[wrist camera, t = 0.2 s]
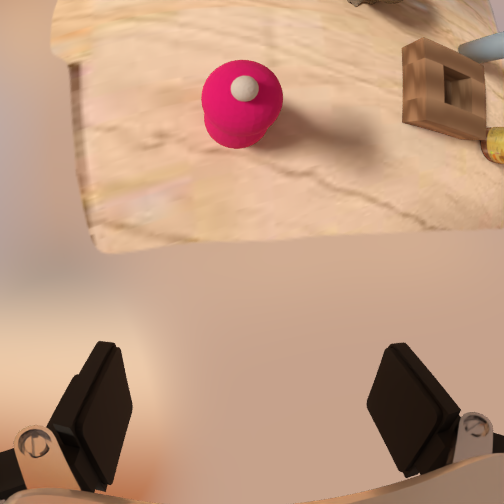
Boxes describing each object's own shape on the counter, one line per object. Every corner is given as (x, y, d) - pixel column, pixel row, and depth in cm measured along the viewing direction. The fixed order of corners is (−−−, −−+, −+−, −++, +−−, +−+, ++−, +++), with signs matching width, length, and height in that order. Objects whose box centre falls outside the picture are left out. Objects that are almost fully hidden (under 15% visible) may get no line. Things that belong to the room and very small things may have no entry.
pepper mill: (209, 91, 35) (193, 32, 16) (267, 96, 35) (307, 43, 16) (204, 147, 37) (180, 138, 18) (262, 151, 37) (298, 148, 18)
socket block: (401, 48, 34) (423, 37, 28) (460, 71, 35) (483, 65, 29) (402, 122, 37) (425, 119, 31) (460, 139, 38) (485, 140, 33)
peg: (457, 41, 33) (504, 25, 22) (473, 49, 33) (519, 37, 22) (459, 60, 34) (508, 48, 23) (475, 68, 35) (523, 59, 23)
